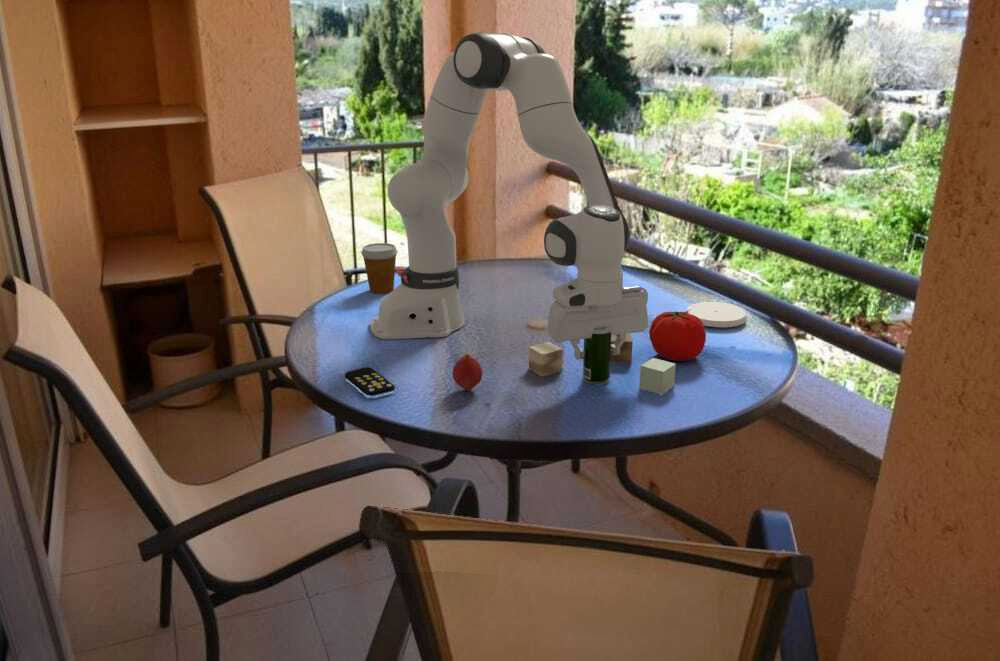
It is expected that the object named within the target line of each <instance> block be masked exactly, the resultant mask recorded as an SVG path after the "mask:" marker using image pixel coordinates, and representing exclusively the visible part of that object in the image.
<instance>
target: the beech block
mask: <svg viewBox="0 0 1000 661" xmlns="http://www.w3.org/2000/svg"><path fill="white" fill-rule="evenodd" d="M563 349H564V348H561V347H559V346H557V345H556V344H554V343H551V342H550V341H546V342H542V343H540V344H539V343H538V344H534V345H531V346H529V347H528V369H529V370H531V371H532V370H533V371H532V372H534V371H535V372H534V373H536V374H537V373H538V374H537V375H539V374H540V375H539V376H540V377H542V376H543V377H546V376H545V375H547V376H550V375H549V374H551V375H554V374H558V373H562V372H563V359H564V358H563V357H564V356H563V355H564V354H563V352H564V350H563ZM557 372H558V373H557ZM553 373H554V374H553Z"/></svg>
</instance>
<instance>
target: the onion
mask: <svg viewBox="0 0 1000 661" xmlns="http://www.w3.org/2000/svg"><path fill="white" fill-rule="evenodd" d="M452 378H453V380H454V382H455V384H457V385H458V387H460V388H462V389H463V390H464V391H466V392H470V391H472V390H473V389H474V388H475V387H476V386H477V385H478V384H480V382H481V380H482V378H483V368H482V366H481V365H480V363H479V362H478V361H477V359H475V358H474V357H472V356H471V354H470V353H469V352H466V353H465V354H464V355H463V356H462V357H461V358H459V359H458V361H456V363H455V364H454V366H453V368H452Z"/></svg>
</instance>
